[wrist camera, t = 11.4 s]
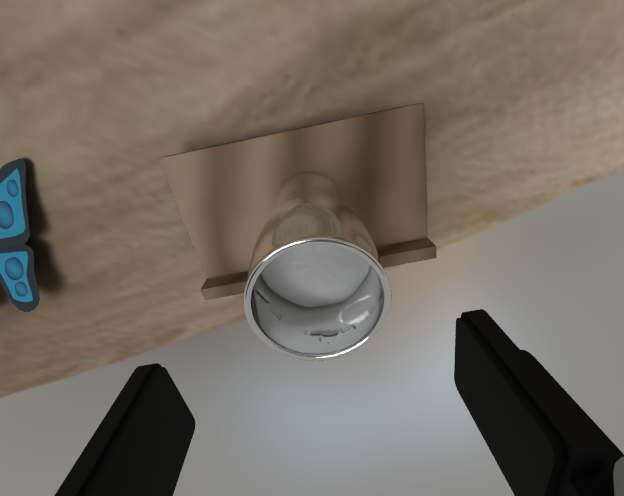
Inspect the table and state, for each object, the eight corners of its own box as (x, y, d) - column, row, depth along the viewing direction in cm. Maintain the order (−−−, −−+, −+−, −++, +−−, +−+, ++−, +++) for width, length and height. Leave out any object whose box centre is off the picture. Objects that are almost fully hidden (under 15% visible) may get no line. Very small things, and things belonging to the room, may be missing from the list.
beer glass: (316, 254, 29) (329, 384, 15) (255, 213, 27) (207, 320, 13) (363, 199, 26) (429, 292, 13) (302, 149, 24) (302, 197, 11)
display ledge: (403, 104, 28) (434, 102, 21) (410, 229, 33) (436, 257, 27) (180, 151, 29) (147, 162, 23) (222, 265, 34) (204, 300, 28)
